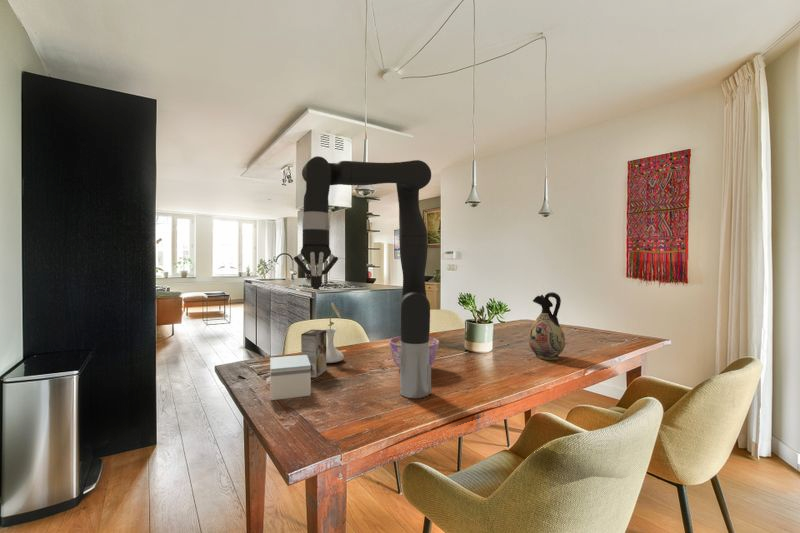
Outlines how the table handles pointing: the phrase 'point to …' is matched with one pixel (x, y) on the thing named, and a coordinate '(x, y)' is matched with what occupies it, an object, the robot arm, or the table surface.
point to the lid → (289, 362)
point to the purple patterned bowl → (396, 349)
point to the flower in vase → (331, 351)
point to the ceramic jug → (547, 330)
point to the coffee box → (315, 350)
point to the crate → (290, 383)
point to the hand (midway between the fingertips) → (315, 289)
